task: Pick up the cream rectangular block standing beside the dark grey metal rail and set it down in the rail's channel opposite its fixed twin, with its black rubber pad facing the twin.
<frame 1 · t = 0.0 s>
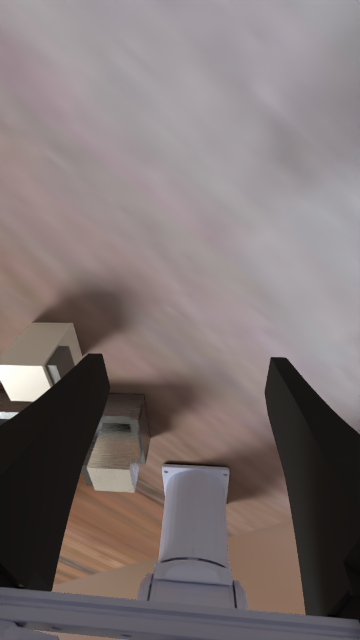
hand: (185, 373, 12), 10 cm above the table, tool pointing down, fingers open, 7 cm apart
rail: (73, 414, 30), on the table
cream rectangular block: (58, 339, 25), on the table
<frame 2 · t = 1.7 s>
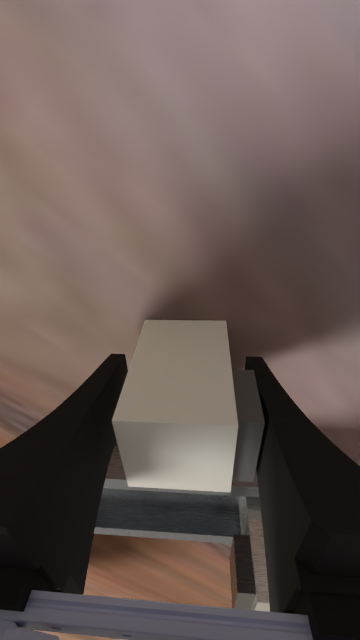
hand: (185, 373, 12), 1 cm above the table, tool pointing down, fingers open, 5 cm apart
rail: (175, 469, 19), on the table
cream rectangular block: (186, 352, 14), on the table, touching gripper
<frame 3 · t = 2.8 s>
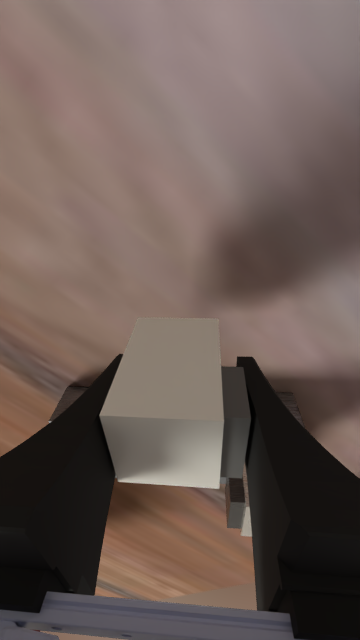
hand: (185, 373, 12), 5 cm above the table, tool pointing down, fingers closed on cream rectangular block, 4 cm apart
rail: (178, 421, 22), on the table
cream rectangular block: (179, 349, 14), point 3 cm above the table, touching gripper
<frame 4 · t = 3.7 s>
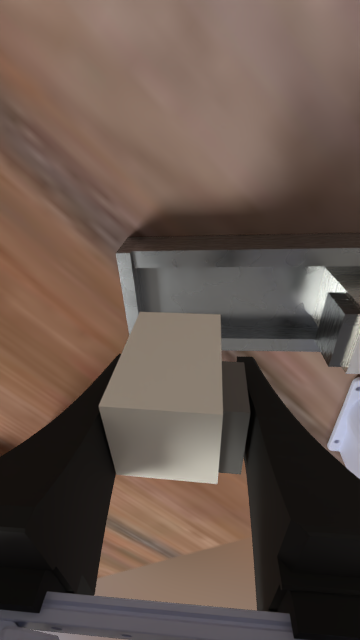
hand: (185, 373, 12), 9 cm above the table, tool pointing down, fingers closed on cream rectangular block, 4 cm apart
rail: (249, 286, 20), on the table
cream rectangular block: (180, 345, 14), point 7 cm above the table, touching gripper
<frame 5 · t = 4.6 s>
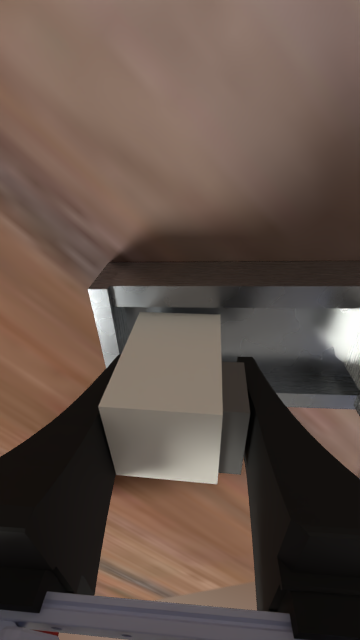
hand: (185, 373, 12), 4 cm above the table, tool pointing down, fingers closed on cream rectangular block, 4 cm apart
rail: (263, 322, 15), on the table
cream rectangular block: (180, 345, 14), point 2 cm above the table, touching gripper
when the fingers open (4 cm above the table, at t = 5.2 s): cream rectangular block stays where it is, resting on rail.
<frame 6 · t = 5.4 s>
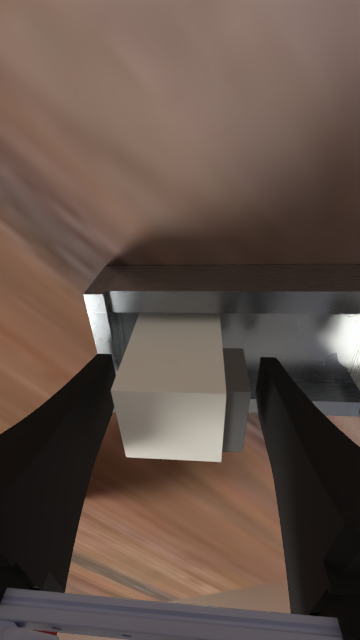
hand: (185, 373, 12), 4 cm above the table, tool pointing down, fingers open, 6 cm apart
rail: (264, 327, 15), on the table
cream rectangular block: (181, 336, 14), point 1 cm above the table, touching rail
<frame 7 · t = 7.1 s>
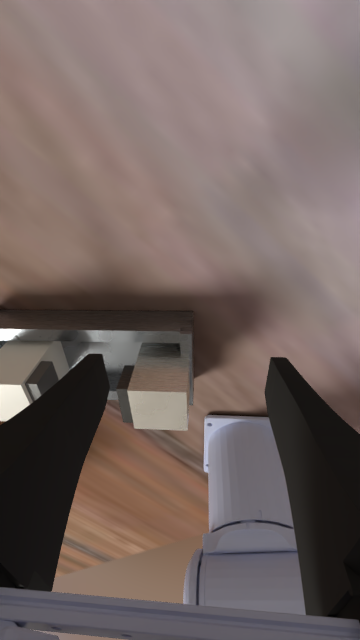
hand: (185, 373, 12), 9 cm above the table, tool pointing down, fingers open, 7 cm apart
rail: (99, 345, 24), on the table
cream rectangular block: (43, 352, 23), point 1 cm above the table, touching rail
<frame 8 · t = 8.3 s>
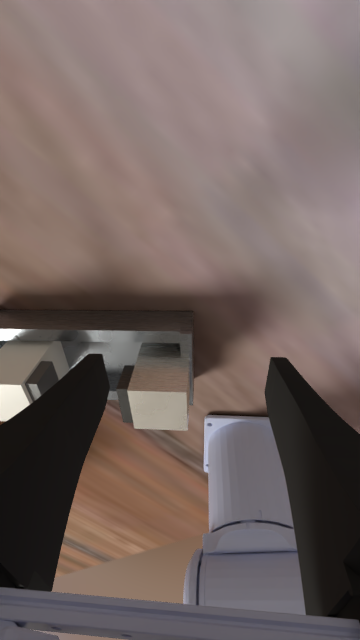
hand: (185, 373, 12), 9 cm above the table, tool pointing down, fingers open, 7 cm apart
rail: (99, 345, 24), on the table
cream rectangular block: (43, 352, 23), point 1 cm above the table, touching rail
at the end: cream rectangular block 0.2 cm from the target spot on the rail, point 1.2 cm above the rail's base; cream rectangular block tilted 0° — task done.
